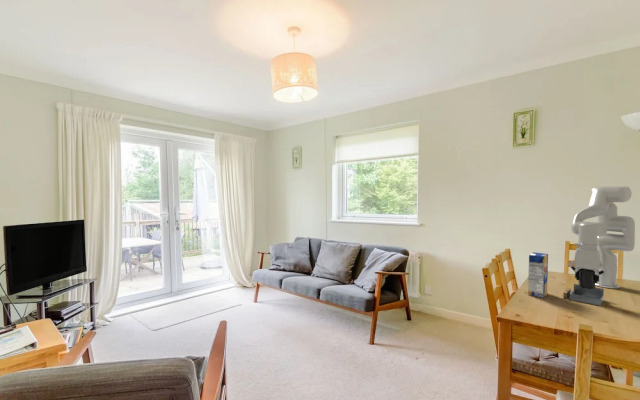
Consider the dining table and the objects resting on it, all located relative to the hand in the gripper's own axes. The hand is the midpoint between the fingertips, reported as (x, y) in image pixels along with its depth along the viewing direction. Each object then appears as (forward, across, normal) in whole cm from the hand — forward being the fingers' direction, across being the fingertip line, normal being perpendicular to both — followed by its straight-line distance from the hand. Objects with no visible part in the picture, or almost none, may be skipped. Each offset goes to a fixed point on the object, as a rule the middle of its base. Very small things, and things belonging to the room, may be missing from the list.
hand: (586, 280), depth 163 cm
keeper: (+10, 0, 0) cm, 10 cm away
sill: (+10, -8, 0) cm, 13 cm away
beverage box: (+10, -20, -8) cm, 23 cm away
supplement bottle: (+4, 0, 0) cm, 4 cm away
